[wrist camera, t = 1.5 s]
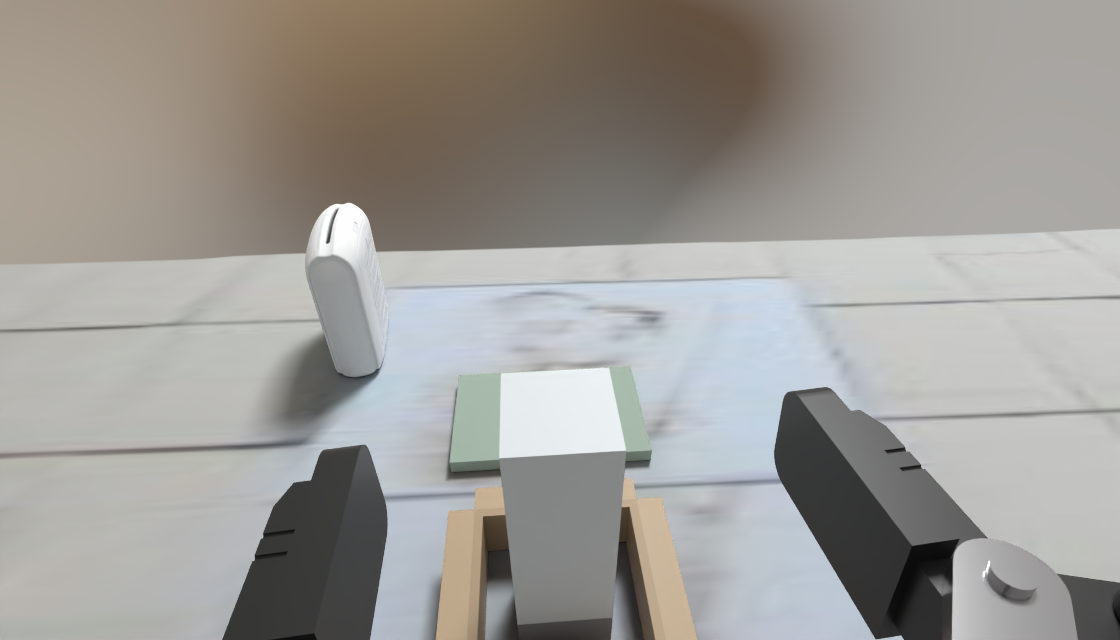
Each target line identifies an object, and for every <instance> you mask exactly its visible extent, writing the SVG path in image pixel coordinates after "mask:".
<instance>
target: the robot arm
mask: <svg viewBox="0 0 1120 640" xmlns="http://www.w3.org/2000/svg"><path fill="white" fill-rule="evenodd" d="M774 458H775V465H776V469H777V472H778V475H779V478H780V480H781V482H782V484H783V485H784V487H785V489H786V490H787V492H788V494H789V495H790V497H791V499H792V500H793V502H794V504H795V505H796V507H797V509H798V510H799V512H800V514H801V515H802V517H803V519H804V520H805V522H806V524H807V525H808V527H809V529H810V530H811V532H812V534H813V535H814V537H815V539H816V540H817V542H818V544H819V545H820V547H821V549H822V550H823V552H824V554H825V555H826V557H827V559H828V560H829V562H830V564H831V565H832V567H833V569H834V570H835V572H836V574H837V575H838V577H839V579H840V580H841V582H842V584H843V585H844V587H845V589H846V590H847V592H848V594H849V595H850V597H851V599H852V600H853V602H854V604H855V605H856V607H857V609H858V610H859V612H860V614H861V615H862V617H863V619H864V620H865V622H866V624H867V625H868V627H869V629H870V630H871V632H872V634H873V635H874V637H875V639H881V638H887V637H894V636H900V635H902V637H903V639H904V640H1120V583H1117V582H1110V581H1103V580H1096V579H1089V578H1082V577H1075V576H1068V575H1061V574H1056V573H1055V572H1054V570H1053V569H1051V568H1050V567H1049V566H1048V565H1047V564H1046V563H1044V562H1043V561H1042V560H1040V559H1039V558H1038V557H1036V556H1034V555H1033V554H1031V553H1029V552H1028V551H1026V550H1024V549H1022V548H1020V547H1017V546H1015V545H1012V544H1010V543H1007V542H1003V541H999V540H994V539H988V538H987V537H986V536H985V535H984V534H983V533H982V532H981V530H980V529H979V528H978V527H977V526H976V525H975V524H974V523H973V522H972V520H971V519H970V518H969V517H968V516H967V515H966V514H965V513H964V512H963V511H962V509H961V508H960V507H959V506H958V505H957V504H956V503H955V502H954V501H953V499H952V498H951V497H950V496H949V495H948V494H947V493H946V492H945V491H944V490H943V488H942V487H941V486H940V485H939V484H938V483H937V482H936V481H935V480H934V479H933V477H932V476H931V475H930V474H929V473H928V472H927V471H926V470H925V469H922V468H921V464H920V463H919V462H918V461H917V460H916V459H915V458H914V456H913V455H912V454H911V453H910V452H906V450H905V446H904V445H903V444H902V443H901V442H900V441H899V440H898V439H897V438H896V437H895V435H894V434H893V433H892V432H891V431H890V430H889V429H888V428H887V427H886V426H885V425H883V424H882V423H880V422H878V421H877V420H875V419H874V418H872V417H870V416H869V415H867V414H866V413H864V412H862V411H861V410H855V411H850V410H849V408H848V407H847V406H846V405H845V404H844V403H843V401H842V400H841V399H840V398H839V397H838V396H837V394H836V393H835V392H834V391H833V390H831V389H830V388H828V387H822V388H815V389H807V390H799V391H791V392H788V393H786V395H785V397H784V399H783V404H782V410H781V415H780V421H779V427H778V432H777V438H776V444H775V450H774ZM386 537H387V509H386V503H385V499H384V496H383V493H382V490H381V486H380V483H379V480H378V477H377V474H376V470H375V467H374V464H373V461H372V458H371V454H370V451H369V449H368V447H367V446H366V445H358V446H350V447H342V448H334V449H327V450H323V451H322V452H321V453H320V455H319V458H318V461H317V464H316V467H315V470H314V473H313V476H312V479H311V481H303V482H296V483H293V484H292V486H291V487H290V488H289V489H288V490H287V491H286V493H285V494H284V495H283V496H282V497H281V499H280V500H279V501H278V502H277V503H276V504H275V506H274V507H273V509H272V512H271V514H270V517H269V519H268V522H267V525H266V527H265V530H264V532H263V539H261V540H260V543H259V545H258V548H257V551H256V553H255V561H252V564H251V566H250V569H249V572H248V574H247V577H246V579H245V582H244V585H243V587H242V590H241V592H240V595H239V598H238V600H237V603H236V605H235V608H234V611H233V613H232V616H231V618H230V621H229V624H228V626H227V629H226V631H225V634H224V637H223V639H222V640H370V636H371V630H372V623H373V617H374V611H375V605H376V599H377V593H378V586H379V580H380V574H381V568H382V562H383V556H384V549H385V543H386Z"/></svg>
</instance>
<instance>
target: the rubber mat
mask: <svg viewBox="0 0 1120 640" xmlns="http://www.w3.org/2000/svg"><path fill="white" fill-rule="evenodd" d="M606 368H609V370H610V375H611V380H612V385H613V389H614V394H615V399H616V404H617V409H618V413H619V418H620V423H621V428H622V432H623V437H624V442H625V447H626V460H625V461H640V460H651V452H652V450H651V446H650V442H649V438H648V434H647V430H646V426H645V422H644V418H643V414H642V410H641V406H640V402H639V399H638V395H637V391H636V387H635V383H634V379H633V375H632V371H631V367H630V366H624V367H606ZM587 369H594V368H587ZM569 370H575V369H569ZM550 371H557V370H550ZM532 372H538V371H532ZM513 373H519V372H513ZM500 393H501V373H494V374H476V375H459V379H458V389H457V398H456V407H455V416H454V425H453V435H452V444H451V453H450V462H449V463H450V468H451V472H463V471H479V470H495V469H500V462H499V441H500Z"/></svg>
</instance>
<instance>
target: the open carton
mask: <svg viewBox="0 0 1120 640" xmlns="http://www.w3.org/2000/svg"><path fill="white" fill-rule="evenodd" d="M619 542H626V544H627V549H628V555H629V561H630V566H631V572H632V577H633V583H634V589H635V594H636V600H637V605H638V611H639V616H640V622H641V628H642V633H643V639H644V640H697V636H696V632H695V628H694V624H693V620H692V616H691V612H690V608H689V604H688V600H687V596H686V592H685V588H684V584H683V580H682V576H681V572H680V568H679V564H678V560H677V556H676V552H675V548H674V545H673V541H672V537H671V533H670V529H669V525H668V521H667V517H666V513H665V509H664V505H663V501H662V497H659V498H643V499H636V494H635V490H634V485H633V480H632V478H631V479H624V484H623V496H622V508H621V520H620V532H619ZM498 550H509V544H508V534H507V525H506V516H505V507H504V498H503V489H502V487H489V488H476V494H475V509H474V510H459V511H449V513H448V522H447V532H446V542H445V552H444V562H443V572H442V582H441V591H440V601H439V611H438V621H437V631H436V640H485V624H486V596H487V567H488V551H498Z"/></svg>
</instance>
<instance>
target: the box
mask: <svg viewBox="0 0 1120 640" xmlns="http://www.w3.org/2000/svg"><path fill="white" fill-rule="evenodd" d="M625 460H626V447H625V442H624V437H623V432H622V428H621V423H620V418H619V413H618V409H617V404H616V399H615V394H614V389H613V385H612V380H611V375H610V370H609V368H594V369H575V370H557V371H538V372H519V373H501V393H500V441H499V462H500V471H501V480H502V489H503V498H504V507H505V516H506V525H507V534H508V544H509V553H510V562H511V571H512V580H513V589H514V598H515V607H516V616H517V625H518V635H519V640H611V629H612V617H613V605H614V593H615V581H616V569H617V557H618V544H619V532H620V520H621V508H622V496H623V484H624V472H625Z"/></svg>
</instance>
